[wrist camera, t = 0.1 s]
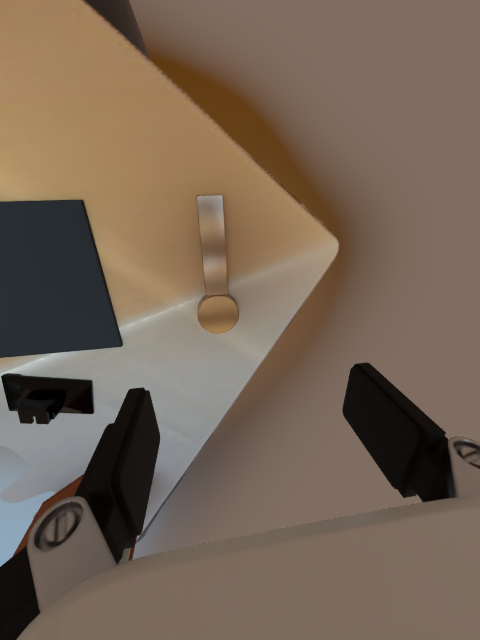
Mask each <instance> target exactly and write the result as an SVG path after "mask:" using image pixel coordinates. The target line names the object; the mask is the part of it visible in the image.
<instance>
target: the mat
mask: <svg viewBox="0 0 480 640" xmlns="http://www.w3.org/2000/svg"><path fill="white" fill-rule="evenodd" d="M122 345H123V344H122V340H121V337H120V333H119V329H118V326H117V322H116V318H115V315H114V311H113V308H112V304H111V300H110V297H109V293H108V289H107V286H106V282H105V278H104V275H103V271H102V268H101V264H100V260H99V257H98V253H97V249H96V246H95V242H94V239H93V235H92V231H91V228H90V224H89V220H88V217H87V213H86V209H85V206H84V202H83V200H54V201H14V202H0V358H4V357H14V356H25V355H36V354H47V353H58V352H69V351H80V350H91V349H102V348H112V347H122Z"/></svg>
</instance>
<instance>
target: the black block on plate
mask: <svg viewBox="0 0 480 640" xmlns="http://www.w3.org/2000/svg"><path fill="white" fill-rule="evenodd" d="M1 378H2V383H3V387H4V391H5V395H6V399H7V403H8V407H9V410H10V411H18V415H19V419H20V423H27V424H32V423H33V422H34V419H33V416H35V418H36V424H48V423H49V422H50V421H51V419H54V418H55V417H56V416H57V415H58V414H59V413H79V414H93V413H94V404H93V387H92V381H91V380H80V379H65V378H49V377H34V376H22V375H20V374H10V373H7V374H5V375H2V376H1Z"/></svg>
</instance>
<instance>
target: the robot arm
mask: <svg viewBox="0 0 480 640" xmlns="http://www.w3.org/2000/svg"><path fill="white" fill-rule="evenodd" d="M343 415H344V417H345V419H346V420H347V421H348V423H349V424H350V426H351V427H352V429H353V430H354V432H355V433H356V435H357V436H358V437H359V439H360V440H361V442H362V443H363V445H364V446H365V448H366V449H367V450H368V452H369V453H370V455H371V456H372V458H373V459H374V461H375V462H376V464H377V465H378V466H379V468H380V469H381V471H382V472H383V474H384V475H385V477H386V478H387V480H388V481H389V482H390V484H391V485H392V487H394V488H395V489H398V491H399V492H400V494H401V495H402V496H403V498H406V497H411V496H416V495H418V496H419V497H420V499H421V500H422V503H417V504H411V505H405V506H400V507H394V508H389V509H383V510H378V511H372V512H367V513H361V514H356V515H351V516H345V517H339V518H334V519H329V520H323V521H318V522H313V523H307V524H302V525H297V526H291V527H286V528H281V529H275V530H270V531H265V532H260V533H255V534H250V535H244V536H239V537H234V538H229V539H224V540H219V541H213V542H208V543H203V544H198V545H194V546H189V547H184V548H180V549H175V550H170V551H166V552H161V553H156V554H153V555H149V556H145V557H141V558H138V559H134V560H130V561H127V562H124V563H122V564H119V563H118V562H119V561H120V560H121V559H122V557H123V553H124V549H128V548H133V547H134V544H135V540H136V536H137V535H140V534H141V533H142V529H143V525H144V520H145V514H146V509H147V504H148V499H149V494H150V489H151V484H152V479H153V474H154V469H155V464H156V459H157V454H158V449H159V444H160V433H159V429H158V424H157V420H156V416H155V412H154V408H153V404H152V400H151V396H150V392H149V390H147V391H145V389H144V388H134V389H129V391H128V393H127V395H126V397H125V399H124V402H123V404H122V406H121V409H120V411H119V413H118V416H117V418H116V420H115V422H114V423H112V424H109V425H107V427H106V428H105V430H104V433H103V435H102V437H101V439H100V441H99V443H98V445H97V448H96V450H95V452H94V454H93V456H92V458H91V460H90V463H89V465H88V467H87V469H86V471H85V473H84V476H83V478H82V480H81V482H80V484H79V486H78V488H77V491H76V493H75V495H74V496H71V497H68V498H65V499H62V500H61V501H59V502H57V503H56V504H54V505H52V506H51V507H50V508H49V509H48V510H47V511H45V512H44V513H43V514H42V516H41V517H40V518H39V519H38V520H37V521H36V523H35V524H34V526H33V528H32V529H31V531H30V534H29V537H28V539H27V545H26V546H25V547H24V548H23V549H22V550H20V551H19V552H18V553H17V554H15V555H14V556H13V557H12V558H11V559H9V560H8V561H7V562H6V563H5V564H3V565H2V566H1V567H0V640H480V443H479V442H477V441H474V440H472V439H469V438H465V437H452V438H450V439H449V440H448V439H447V438H446V437H445V431H443V430H442V429H441V428H440V427H439V426H438V425H437V424H436V423H435V422H434V421H432V420H431V419H430V418H429V417H428V416H427V415H426V414H425V413H424V412H422V411H421V410H420V409H419V408H418V407H417V406H416V405H415V404H414V403H413V402H411V401H410V400H409V399H408V398H407V397H406V396H405V395H404V394H403V393H402V392H400V391H399V390H398V389H397V388H396V387H395V386H394V385H393V384H391V383H390V382H389V381H388V380H387V379H386V378H385V377H384V376H383V375H382V374H380V373H379V372H378V371H377V370H376V369H375V368H374V367H373V366H372V365H370V364H369V363H360V364H355V365H354V366H353V367H352V368H351V370H350V375H349V380H348V385H347V390H346V395H345V399H344V404H343Z"/></svg>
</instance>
